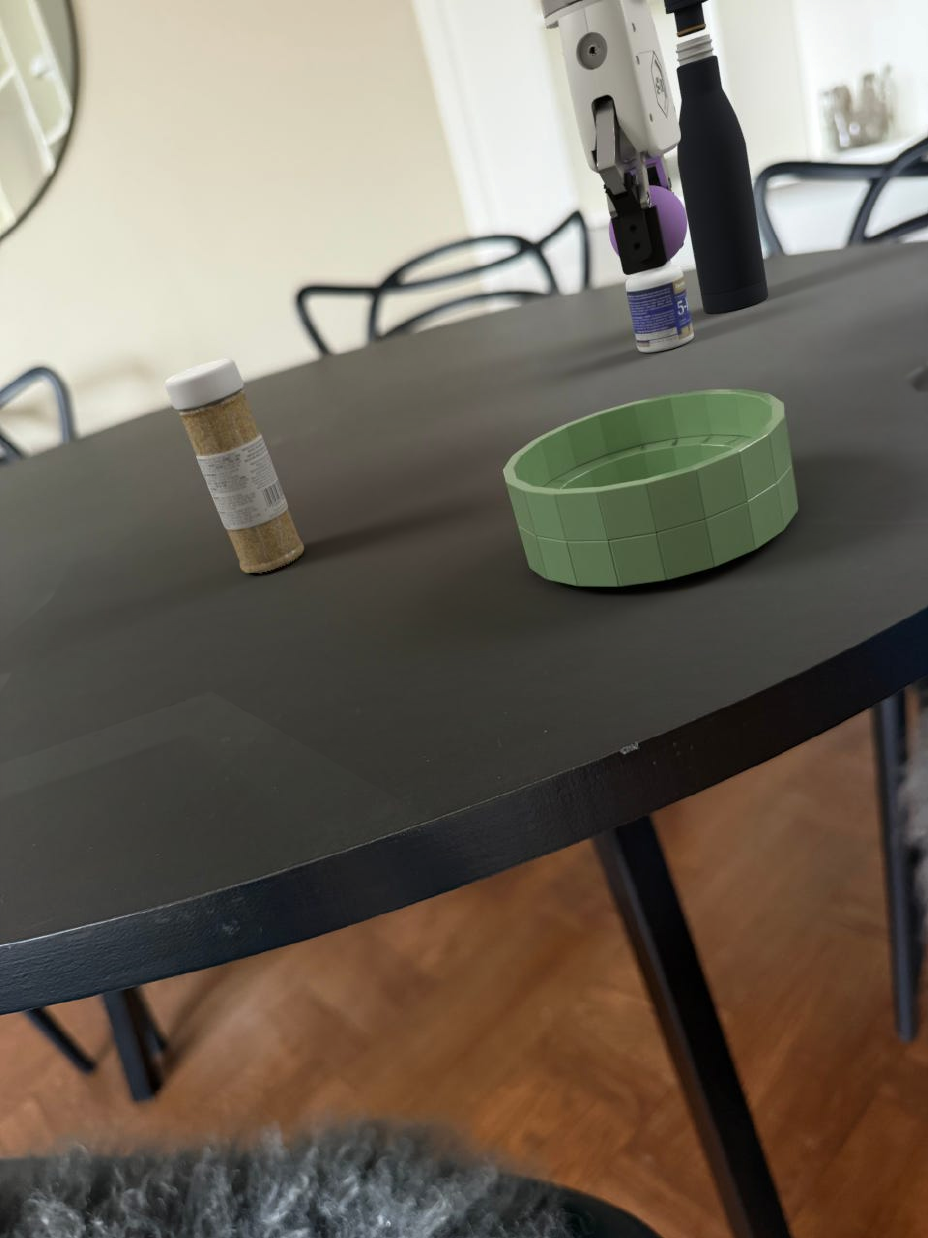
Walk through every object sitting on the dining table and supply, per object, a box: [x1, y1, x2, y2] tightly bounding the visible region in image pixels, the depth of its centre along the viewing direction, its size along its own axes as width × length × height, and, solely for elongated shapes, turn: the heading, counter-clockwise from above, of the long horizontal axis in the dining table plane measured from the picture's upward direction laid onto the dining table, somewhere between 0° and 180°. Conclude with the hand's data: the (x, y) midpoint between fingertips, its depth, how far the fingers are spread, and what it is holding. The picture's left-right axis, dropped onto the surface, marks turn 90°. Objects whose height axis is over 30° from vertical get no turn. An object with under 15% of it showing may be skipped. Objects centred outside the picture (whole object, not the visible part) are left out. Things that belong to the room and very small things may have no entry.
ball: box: [608, 185, 688, 261], centre depth 72 cm, size 6×6×6 cm
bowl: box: [502, 388, 799, 588], centre depth 51 cm, size 14×14×6 cm
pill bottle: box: [625, 258, 695, 354], centre depth 91 cm, size 5×5×9 cm
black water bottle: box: [663, 0, 769, 315], centre depth 94 cm, size 6×6×30 cm
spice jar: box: [164, 358, 305, 574], centre depth 64 cm, size 5×5×13 cm
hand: (654, 258), depth 73 cm, fingers closed on ball, 5 cm apart
